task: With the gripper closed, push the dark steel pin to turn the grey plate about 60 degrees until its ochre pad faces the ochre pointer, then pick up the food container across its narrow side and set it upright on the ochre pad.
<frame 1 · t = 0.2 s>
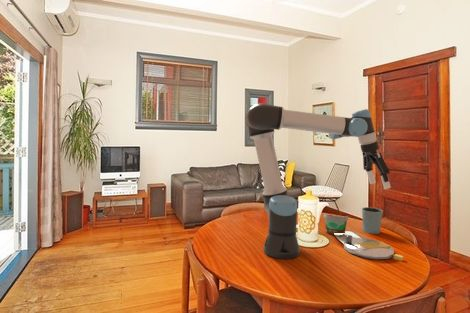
hand: (379, 186, 136), 27 cm above the table, tool tilted 20°, fingers open, 13 cm apart
index pointer: (398, 259, 119), on the table
food container: (334, 234, 149), on the table
grey cup: (371, 231, 155), on the table
grey plate: (368, 243, 127), point 3 cm above the table, hinge at 0.0°
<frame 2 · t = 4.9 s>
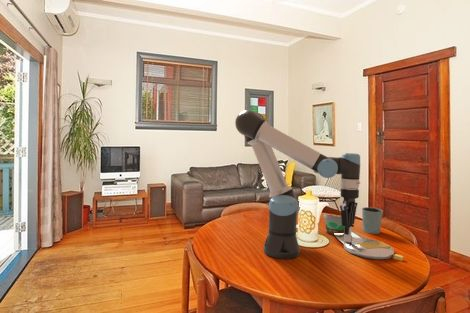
hand: (347, 241, 128), 4 cm above the table, tool pointing down, fingers closed
grey plate: (368, 243, 127), point 3 cm above the table, hinge at 1.0°, touching gripper
everything else where it was.
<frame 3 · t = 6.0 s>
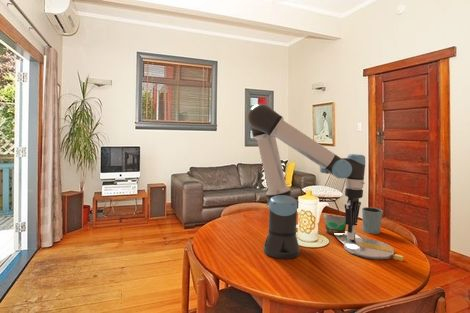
hand: (350, 238, 133), 3 cm above the table, tool pointing down, fingers closed
grey plate: (368, 243, 127), point 3 cm above the table, hinge at 42.7°, touching gripper
everything else where it was.
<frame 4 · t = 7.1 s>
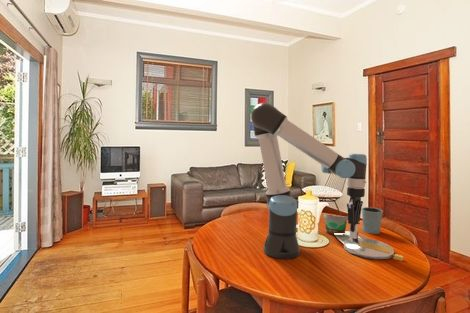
hand: (353, 237, 134), 3 cm above the table, tool pointing down, fingers closed
grey plate: (368, 243, 127), point 3 cm above the table, hinge at 56.6°, touching gripper
everything else where it was.
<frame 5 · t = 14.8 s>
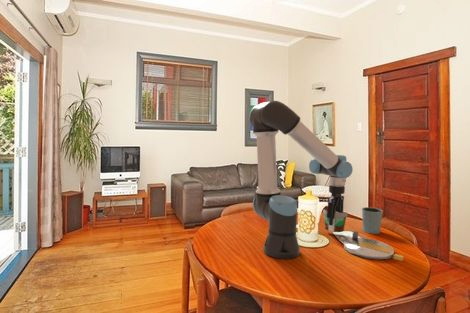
hand: (334, 229, 148), 3 cm above the table, tool pointing down, fingers closed on food container, 6 cm apart
food container: (333, 231, 148), point 2 cm above the table, touching gripper
grey plate: (368, 243, 127), point 3 cm above the table, hinge at 56.6°
everything else where it was.
when the fingers open (3 cm above the table, at t = 20.8 s): food container stays where it is, point 2 cm above the table.
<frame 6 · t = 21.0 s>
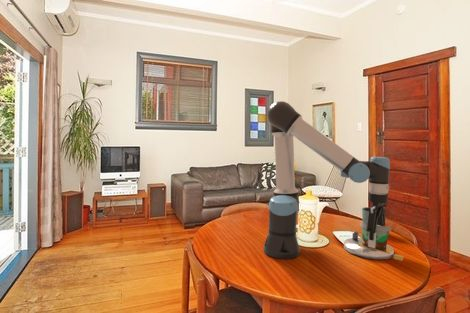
hand: (375, 244, 125), 4 cm above the table, tool pointing down, fingers open, 8 cm apart
food container: (374, 247, 124), point 2 cm above the table, touching gripper
everything else where it was.
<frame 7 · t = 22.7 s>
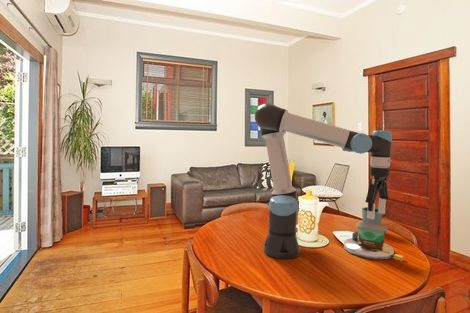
hand: (376, 215, 124), 16 cm above the table, tool pointing down, fingers open, 13 cm apart
food container: (370, 248, 122), point 3 cm above the table, touching grey plate
grey plate: (368, 243, 127), point 3 cm above the table, hinge at 56.2°, touching food container
everything else where it was.
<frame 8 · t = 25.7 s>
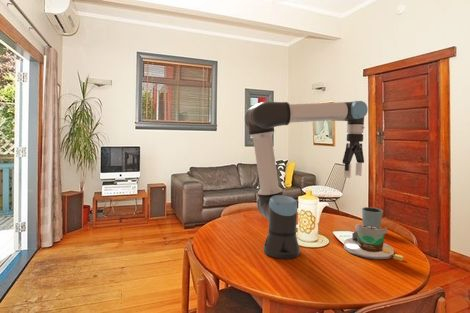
hand: (352, 176, 143), 31 cm above the table, tool pointing down, fingers open, 13 cm apart
at the end: grey plate at +56° (first picture: +0°); food container inside the target area (4.8 cm from its centre), point 2.3 cm above the table; food container tilted 5° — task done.
